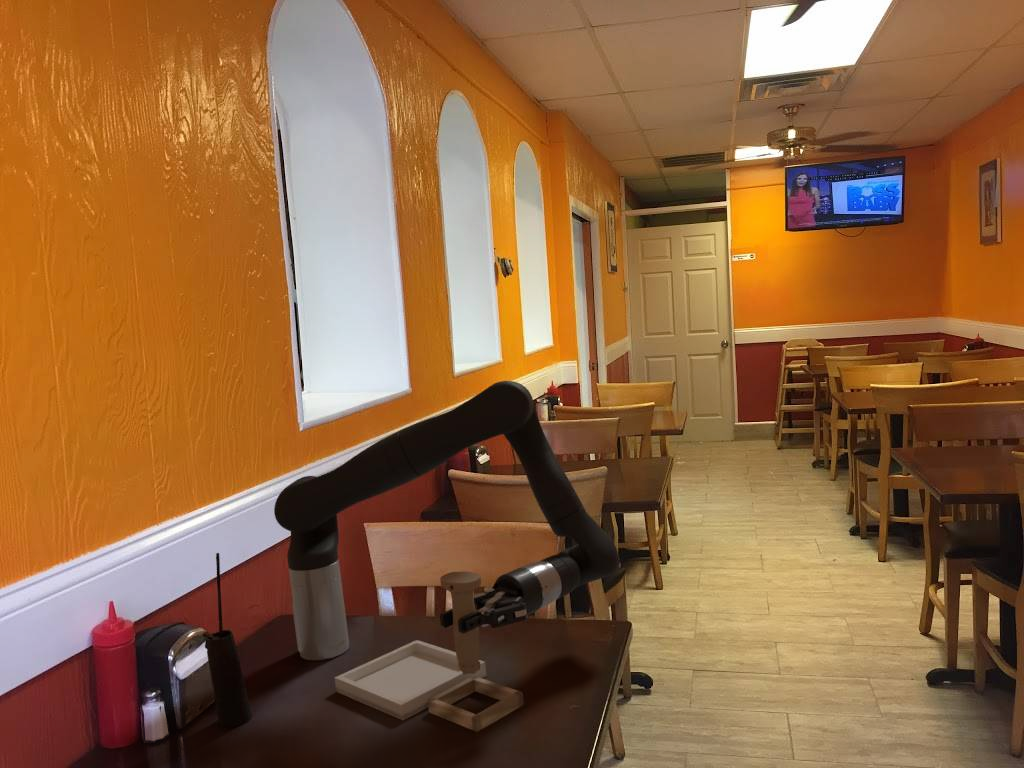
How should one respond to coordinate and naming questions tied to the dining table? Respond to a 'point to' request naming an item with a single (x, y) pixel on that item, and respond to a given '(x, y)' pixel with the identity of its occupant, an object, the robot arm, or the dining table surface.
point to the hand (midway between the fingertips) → (451, 624)
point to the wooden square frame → (477, 722)
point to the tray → (404, 679)
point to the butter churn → (226, 672)
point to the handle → (462, 606)
